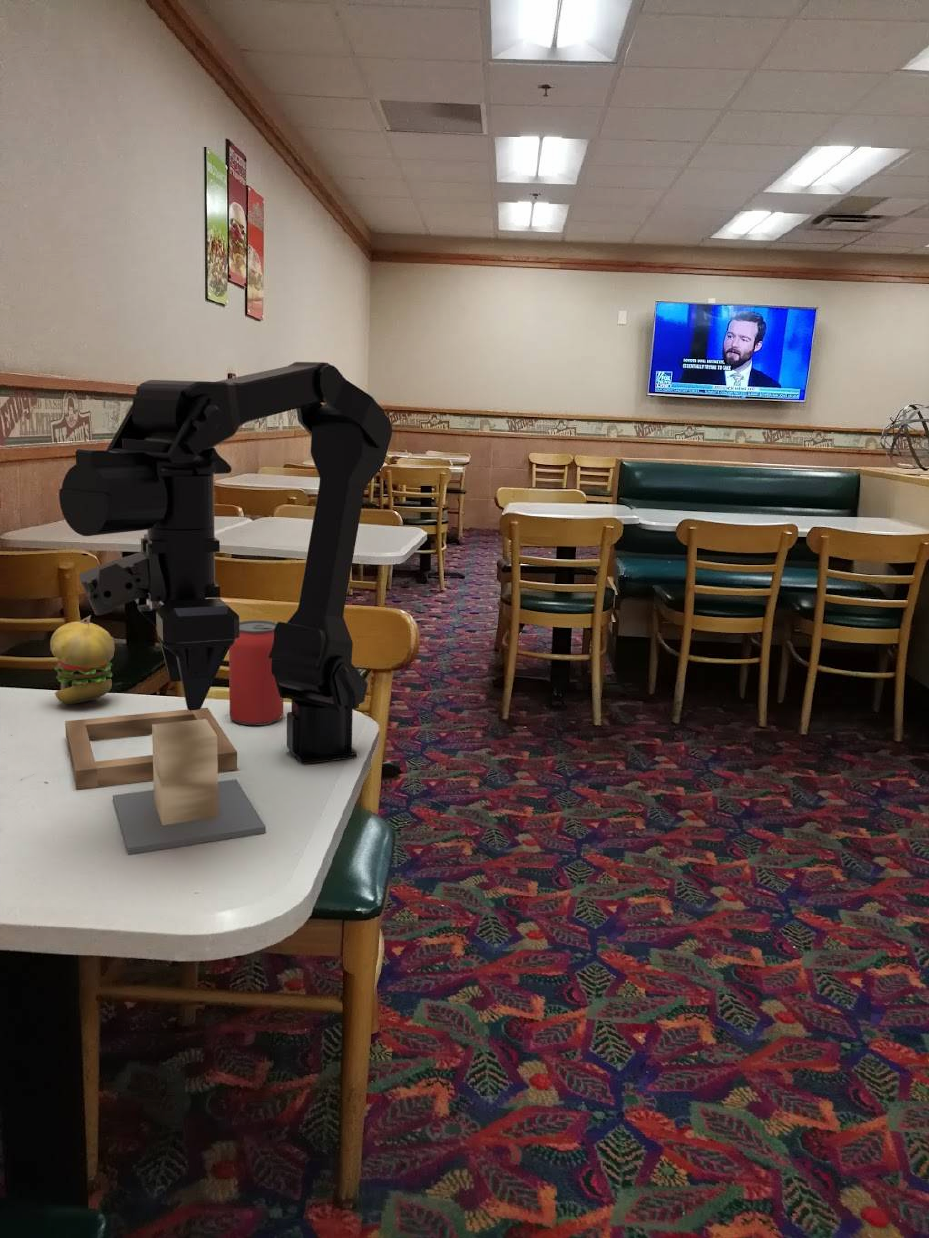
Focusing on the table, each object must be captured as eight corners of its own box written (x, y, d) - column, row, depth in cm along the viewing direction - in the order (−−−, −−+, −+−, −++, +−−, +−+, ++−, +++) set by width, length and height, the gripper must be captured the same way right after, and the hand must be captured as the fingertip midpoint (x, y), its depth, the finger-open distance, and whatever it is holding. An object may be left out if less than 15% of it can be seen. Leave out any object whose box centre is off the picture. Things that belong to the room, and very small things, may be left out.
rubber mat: (236, 784, 96) (236, 779, 96) (265, 832, 85) (265, 826, 85) (112, 801, 90) (112, 795, 90) (127, 854, 80) (127, 848, 80)
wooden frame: (207, 723, 114) (207, 707, 113) (237, 769, 100) (237, 751, 99) (66, 737, 107) (65, 721, 106) (76, 789, 93) (75, 771, 92)
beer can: (270, 729, 112) (270, 633, 110) (220, 723, 114) (219, 628, 111) (291, 713, 119) (291, 621, 116) (243, 707, 120) (242, 617, 117)
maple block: (207, 796, 91) (206, 718, 89) (218, 817, 87) (217, 735, 85) (154, 803, 89) (151, 724, 87) (162, 825, 84) (160, 742, 83)
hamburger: (98, 692, 124) (94, 604, 121) (128, 704, 119) (125, 613, 116) (41, 704, 118) (36, 612, 115) (71, 717, 113) (66, 622, 111)
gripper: (74, 514, 87) (82, 675, 90) (93, 543, 71) (101, 737, 74) (196, 513, 92) (199, 666, 95) (240, 540, 75) (241, 722, 79)
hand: (184, 694), depth 86 cm, fingers open, 9 cm apart
